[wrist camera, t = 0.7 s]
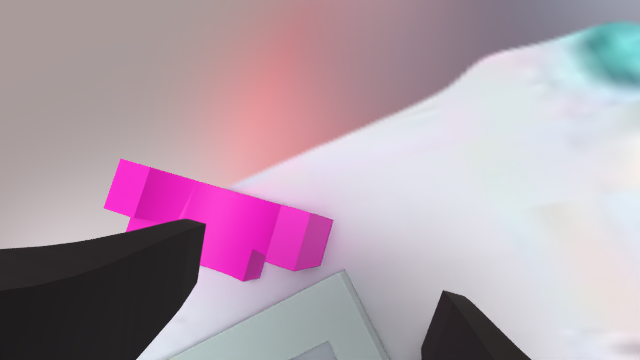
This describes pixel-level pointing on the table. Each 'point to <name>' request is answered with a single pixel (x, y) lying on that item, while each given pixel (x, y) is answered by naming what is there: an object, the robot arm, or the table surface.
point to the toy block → (221, 221)
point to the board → (299, 328)
